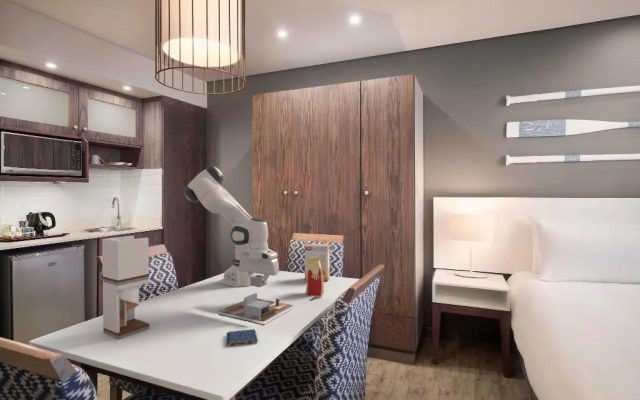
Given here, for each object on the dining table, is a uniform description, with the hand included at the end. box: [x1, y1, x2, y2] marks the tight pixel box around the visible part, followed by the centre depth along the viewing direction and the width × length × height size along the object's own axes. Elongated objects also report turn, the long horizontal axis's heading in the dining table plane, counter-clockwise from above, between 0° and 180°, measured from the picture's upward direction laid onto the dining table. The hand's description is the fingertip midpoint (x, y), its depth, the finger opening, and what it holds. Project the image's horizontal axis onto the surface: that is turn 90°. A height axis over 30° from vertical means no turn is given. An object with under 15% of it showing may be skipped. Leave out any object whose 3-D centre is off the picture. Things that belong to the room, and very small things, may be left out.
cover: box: [243, 292, 270, 318], centre depth 145 cm, size 8×7×7 cm
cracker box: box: [304, 243, 331, 282], centre depth 208 cm, size 14×6×21 cm, turn 76°
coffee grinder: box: [101, 235, 150, 340], centre depth 131 cm, size 11×11×35 cm
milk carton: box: [305, 256, 325, 298], centre depth 178 cm, size 9×9×20 cm
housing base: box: [217, 298, 294, 326], centre depth 153 cm, size 24×22×4 cm
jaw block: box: [249, 274, 268, 288], centre depth 162 cm, size 5×5×4 cm
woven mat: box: [226, 328, 259, 347], centre depth 124 cm, size 10×11×2 cm
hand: (258, 282), depth 162 cm, fingers closed on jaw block, 5 cm apart
